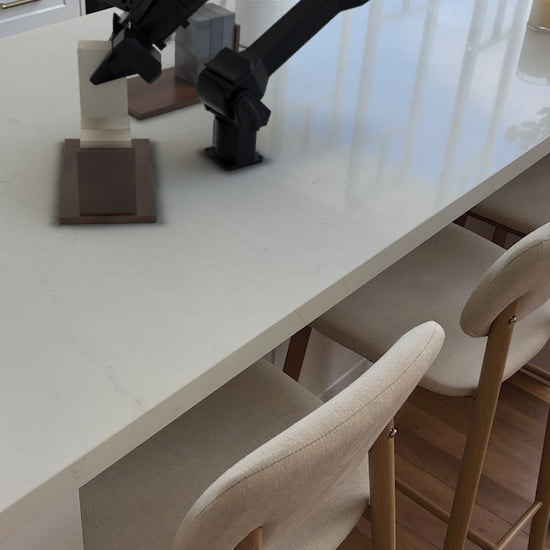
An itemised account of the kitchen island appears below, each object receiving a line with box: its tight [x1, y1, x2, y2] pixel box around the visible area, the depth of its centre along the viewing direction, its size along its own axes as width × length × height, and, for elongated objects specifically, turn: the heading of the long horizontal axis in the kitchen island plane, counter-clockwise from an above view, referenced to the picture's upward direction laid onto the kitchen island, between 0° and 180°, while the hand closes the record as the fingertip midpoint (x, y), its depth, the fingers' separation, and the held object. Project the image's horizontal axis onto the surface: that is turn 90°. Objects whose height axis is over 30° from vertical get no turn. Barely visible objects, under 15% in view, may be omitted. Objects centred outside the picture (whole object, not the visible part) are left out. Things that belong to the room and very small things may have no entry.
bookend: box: [127, 2, 240, 121], centre depth 142 cm, size 12×22×12 cm, turn 133°
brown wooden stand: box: [58, 117, 158, 225], centre depth 117 cm, size 12×21×11 cm, turn 9°
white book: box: [76, 39, 129, 119], centre depth 115 cm, size 6×3×10 cm, turn 97°
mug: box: [218, 0, 282, 48], centre depth 164 cm, size 12×8×10 cm
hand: (92, 77), depth 114 cm, fingers closed on white book, 3 cm apart
